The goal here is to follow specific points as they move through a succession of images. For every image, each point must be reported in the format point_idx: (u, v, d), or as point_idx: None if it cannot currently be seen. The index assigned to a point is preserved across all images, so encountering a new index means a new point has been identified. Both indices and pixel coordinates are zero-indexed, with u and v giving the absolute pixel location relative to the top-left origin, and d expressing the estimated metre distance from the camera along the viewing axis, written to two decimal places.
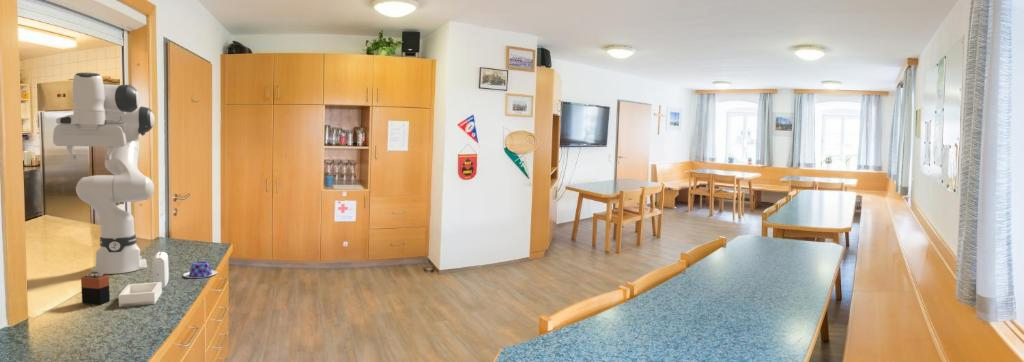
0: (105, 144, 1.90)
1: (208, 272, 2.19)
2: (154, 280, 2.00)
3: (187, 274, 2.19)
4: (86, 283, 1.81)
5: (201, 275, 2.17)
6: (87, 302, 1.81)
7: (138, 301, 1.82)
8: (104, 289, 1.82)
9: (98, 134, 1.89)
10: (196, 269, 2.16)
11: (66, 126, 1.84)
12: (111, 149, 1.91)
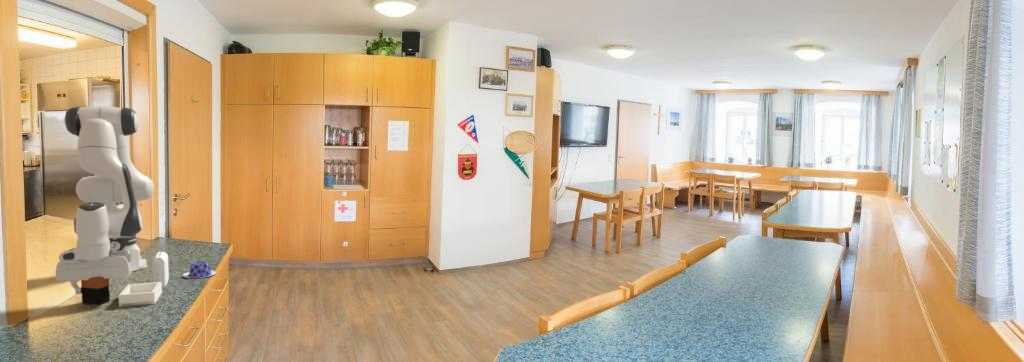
0: (110, 276, 1.83)
1: (207, 272, 2.18)
2: (154, 280, 2.00)
3: (187, 274, 2.19)
4: (86, 283, 1.81)
5: (200, 275, 2.16)
6: (87, 302, 1.81)
7: (138, 301, 1.82)
8: (104, 289, 1.82)
9: (102, 267, 1.82)
10: (195, 269, 2.16)
11: (69, 262, 1.77)
12: (115, 280, 1.84)
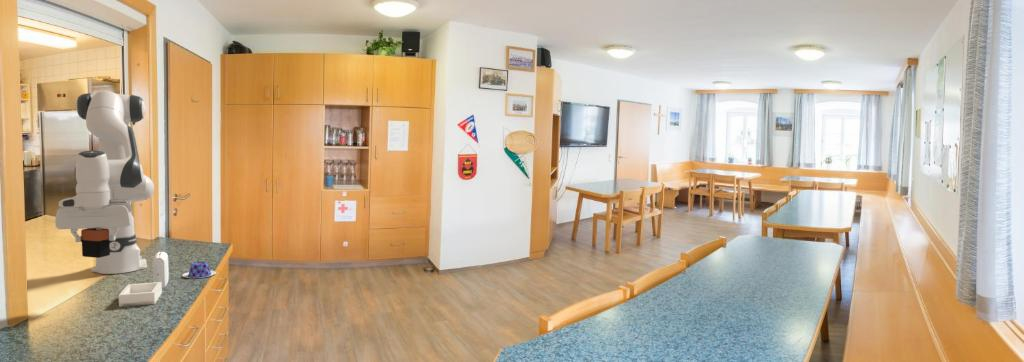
0: (110, 225, 1.81)
1: (206, 273, 2.18)
2: (154, 280, 2.00)
3: (187, 274, 2.19)
4: (86, 236, 1.79)
5: (199, 275, 2.16)
6: (87, 255, 1.80)
7: (138, 301, 1.82)
8: (104, 242, 1.81)
9: (102, 215, 1.80)
10: (195, 269, 2.16)
11: (69, 209, 1.76)
12: (115, 230, 1.83)
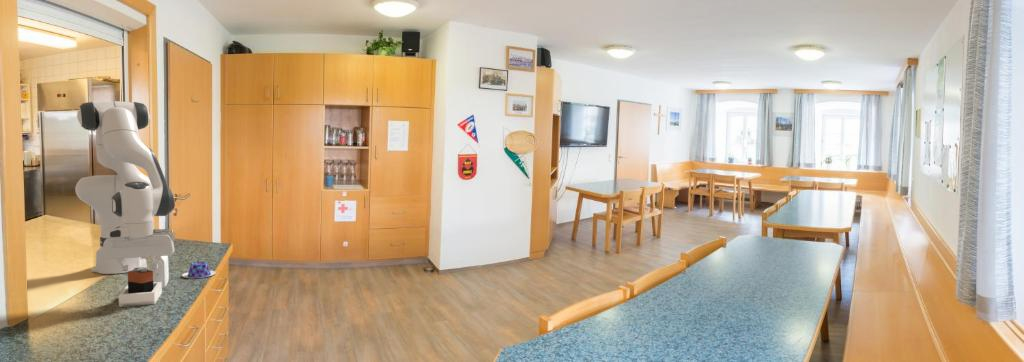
0: (154, 254, 1.86)
1: (205, 273, 2.18)
2: (154, 280, 2.00)
3: (186, 274, 2.19)
4: (132, 277, 1.85)
5: (198, 275, 2.16)
6: None
7: (138, 301, 1.82)
8: (148, 284, 1.86)
9: (147, 244, 1.85)
10: (194, 269, 2.16)
11: (115, 239, 1.81)
12: (158, 258, 1.87)
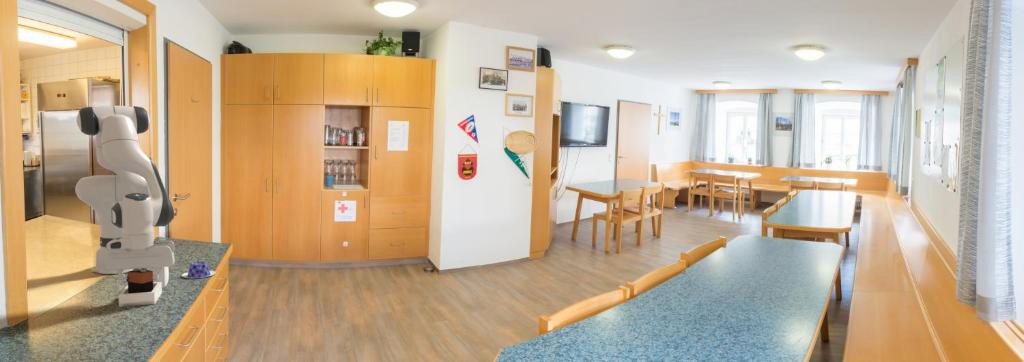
0: (154, 265, 1.87)
1: (205, 273, 2.18)
2: (154, 280, 2.00)
3: (186, 274, 2.19)
4: (132, 278, 1.85)
5: (198, 275, 2.16)
6: None
7: (138, 301, 1.82)
8: (148, 284, 1.86)
9: (147, 256, 1.86)
10: (194, 269, 2.16)
11: (116, 251, 1.81)
12: (159, 269, 1.88)
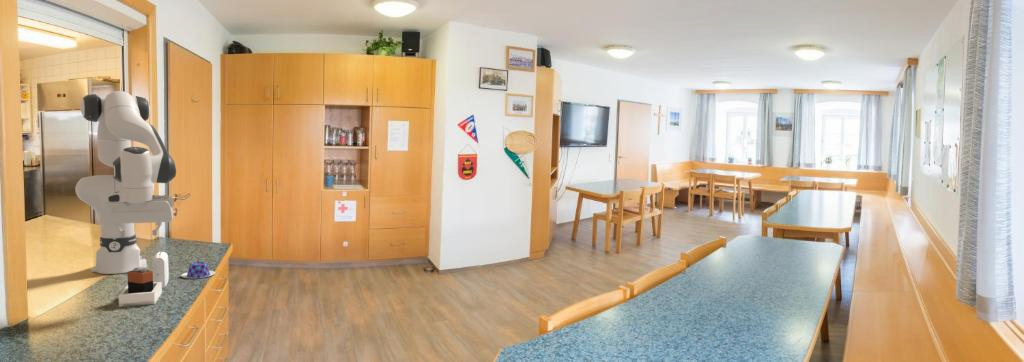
0: (153, 220, 1.85)
1: (204, 273, 2.17)
2: (154, 280, 2.00)
3: (186, 274, 2.19)
4: (132, 278, 1.85)
5: (197, 276, 2.16)
6: None
7: (138, 301, 1.82)
8: (148, 284, 1.86)
9: (146, 210, 1.84)
10: (193, 270, 2.16)
11: (114, 204, 1.80)
12: (159, 225, 1.87)
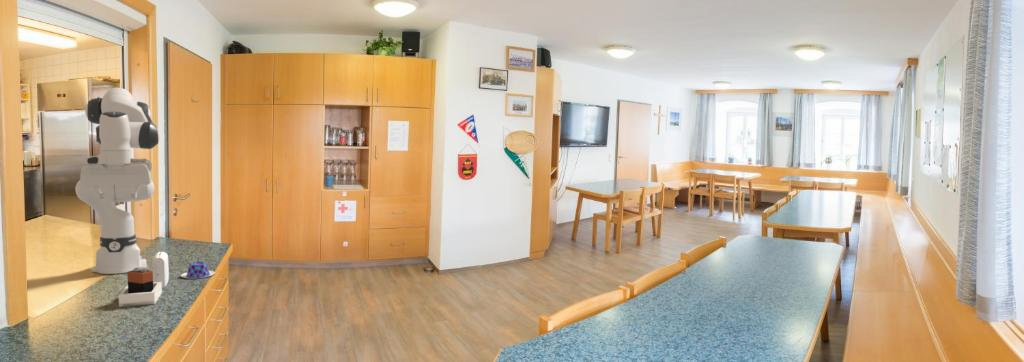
0: (131, 183, 1.91)
1: (203, 273, 2.17)
2: (154, 280, 2.00)
3: (186, 274, 2.19)
4: (132, 278, 1.85)
5: (196, 276, 2.15)
6: None
7: (138, 301, 1.82)
8: (148, 284, 1.86)
9: (124, 173, 1.90)
10: (192, 270, 2.15)
11: (93, 166, 1.85)
12: (137, 187, 1.92)
